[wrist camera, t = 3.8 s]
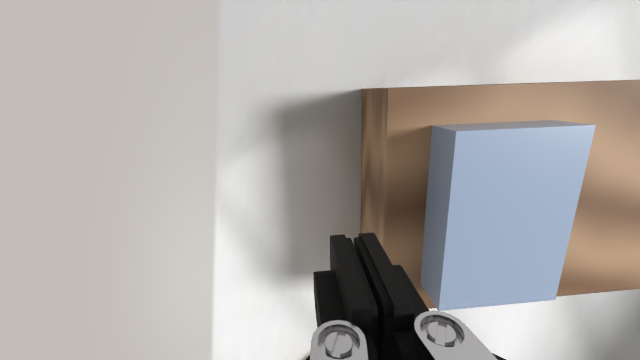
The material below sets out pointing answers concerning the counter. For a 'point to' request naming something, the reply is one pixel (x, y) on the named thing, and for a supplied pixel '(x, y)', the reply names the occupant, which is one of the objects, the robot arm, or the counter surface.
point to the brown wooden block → (509, 106)
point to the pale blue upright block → (501, 210)
